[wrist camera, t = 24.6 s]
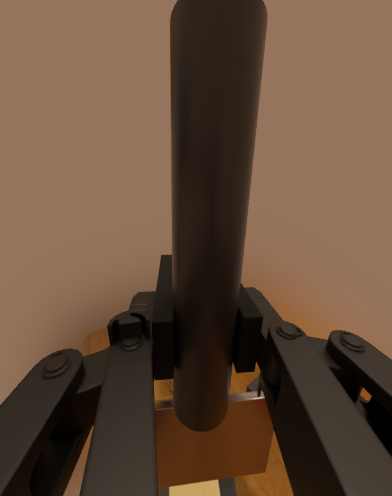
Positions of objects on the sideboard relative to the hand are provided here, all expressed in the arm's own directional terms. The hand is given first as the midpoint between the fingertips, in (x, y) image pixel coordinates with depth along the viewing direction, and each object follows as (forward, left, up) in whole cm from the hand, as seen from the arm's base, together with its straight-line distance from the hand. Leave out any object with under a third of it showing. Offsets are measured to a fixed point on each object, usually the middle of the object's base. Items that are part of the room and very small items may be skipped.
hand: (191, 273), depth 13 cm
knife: (+3, -5, -10) cm, 12 cm away
